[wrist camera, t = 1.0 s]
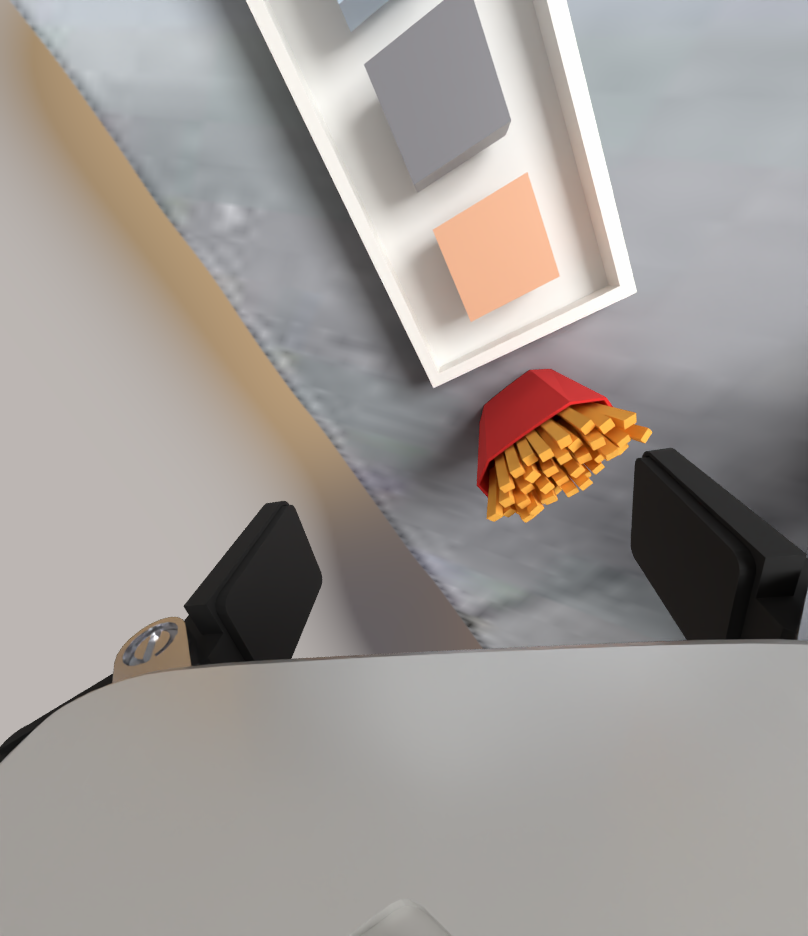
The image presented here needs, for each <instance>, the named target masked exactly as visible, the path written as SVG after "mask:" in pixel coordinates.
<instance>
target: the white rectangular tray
mask: <svg viewBox="0 0 808 936" xmlns="http://www.w3.org/2000/svg"><path fill="white" fill-rule="evenodd" d="M442 1H443V0H388V1H387V2H386V3H385V4H384V5H382V6H381V7H380V8H379V9H378V10H377V11H375V12H374V13H373V14H372V15H371V16H369V17H368V18H367V19H366V20H365V21H364V22H362V23H361V24H360V25H359V26H358V27H356V28H355V29H354V30H353V31H352V32H351V31H350V29H349V27H348V24H347V22H346V20H345V17H344V15H343V13H342V10H341V8H340V6H339V3H338V1H337V0H246V2H247V4H248V6H249V8H250V10H251V12H252V14H253V16H254V18H255V20H256V22H257V25H258V27H259V29H260V31H261V33H262V35H263V37H264V39H265V41H266V43H267V45H268V47H269V49H270V51H271V53H272V56H273V58H274V60H275V62H276V64H277V66H278V68H279V70H280V72H281V74H282V76H283V78H284V80H285V82H286V84H287V86H288V89H289V91H290V93H291V95H292V97H293V99H294V101H295V103H296V105H297V107H298V109H299V111H300V113H301V115H302V117H303V120H304V122H305V124H306V126H307V128H308V130H309V132H310V134H311V136H312V138H313V140H314V142H315V144H316V146H317V148H318V150H319V153H320V155H321V157H322V159H323V161H324V163H325V165H326V167H327V169H328V171H329V173H330V175H331V177H332V179H333V181H334V184H335V186H336V188H337V190H338V192H339V194H340V196H341V198H342V200H343V202H344V204H345V206H346V208H347V210H348V212H349V214H350V217H351V219H352V221H353V223H354V225H355V227H356V229H357V231H358V233H359V235H360V237H361V239H362V241H363V243H364V245H365V248H366V250H367V252H368V254H369V256H370V258H371V260H372V262H373V264H374V266H375V268H376V270H377V272H378V274H379V276H380V278H381V281H382V283H383V285H384V287H385V289H386V291H387V293H388V295H389V297H390V299H391V301H392V303H393V305H394V307H395V309H396V312H397V314H398V316H399V318H400V320H401V322H402V324H403V326H404V328H405V330H406V332H407V334H408V336H409V338H410V340H411V342H412V345H413V347H414V349H415V351H416V353H417V355H418V357H419V359H420V361H421V363H422V365H423V367H424V369H425V371H426V373H427V376H428V378H429V380H430V382H431V384H432V386H433V388H435V387H437V386H439V385H441V384H443V383H445V382H448V381H450V380H452V379H454V378H456V377H458V376H460V375H462V374H465V373H467V372H469V371H471V370H473V369H475V368H477V367H479V366H481V365H484V364H486V363H488V362H490V361H492V360H494V359H496V358H498V357H501V356H503V355H505V354H507V353H509V352H511V351H513V350H515V349H518V348H520V347H522V346H524V345H526V344H528V343H530V342H532V341H535V340H537V339H539V338H541V337H543V336H545V335H547V334H549V333H552V332H554V331H556V330H558V329H560V328H562V327H564V326H566V325H569V324H571V323H573V322H575V321H577V320H579V319H581V318H583V317H586V316H588V315H590V314H592V313H594V312H596V311H598V310H600V309H602V308H605V307H607V306H609V305H611V304H613V303H615V302H617V301H619V300H622V299H624V298H626V297H628V296H630V295H632V294H634V293H636V292H637V291H636V286H635V282H634V278H633V274H632V270H631V266H630V262H629V258H628V253H627V249H626V245H625V241H624V237H623V233H622V229H621V224H620V220H619V216H618V212H617V208H616V204H615V200H614V196H613V191H612V187H611V183H610V179H609V175H608V171H607V167H606V163H605V158H604V154H603V150H602V146H601V142H600V138H599V134H598V129H597V125H596V121H595V117H594V113H593V109H592V105H591V101H590V96H589V92H588V88H587V84H586V80H585V76H584V72H583V68H582V63H581V59H580V55H579V51H578V47H577V43H576V39H575V34H574V30H573V26H572V22H571V18H570V14H569V10H568V6H567V1H566V0H474V2H475V5H476V9H477V12H478V15H479V18H480V21H481V25H482V28H483V31H484V34H485V37H486V41H487V44H488V47H489V50H490V54H491V57H492V60H493V63H494V66H495V70H496V73H497V76H498V79H499V82H500V86H501V89H502V92H503V95H504V98H505V102H506V105H507V108H508V111H509V114H510V118H511V123H510V125H509V128H508V131H507V133H506V135H505V136H504V137H502V138H501V139H499V140H498V141H496V142H495V143H493V144H492V145H490V146H489V147H487V148H485V149H484V150H482V151H481V152H479V153H478V154H476V155H475V156H473V157H472V158H470V159H469V160H467V161H466V162H464V163H462V164H461V165H459V166H458V167H456V168H455V169H453V170H452V171H450V172H449V173H447V174H446V175H444V176H442V177H441V178H439V179H438V180H436V181H435V182H433V183H432V184H430V185H429V186H427V187H426V188H424V189H423V190H421V191H419V192H418V193H417V191H416V189H415V186H414V184H413V182H412V179H411V177H410V174H409V172H408V170H407V167H406V165H405V162H404V160H403V158H402V155H401V153H400V150H399V148H398V146H397V143H396V141H395V138H394V136H393V133H392V131H391V129H390V126H389V124H388V121H387V119H386V117H385V114H384V112H383V109H382V107H381V105H380V102H379V100H378V97H377V95H376V93H375V90H374V88H373V85H372V83H371V81H370V78H369V76H368V73H367V71H366V68H365V66H364V64H365V63H366V62H367V61H369V60H370V59H371V58H372V57H374V56H375V55H376V54H377V53H379V52H380V51H381V50H382V49H384V48H385V47H386V46H387V45H389V44H390V43H391V42H392V41H394V40H395V39H396V38H397V37H399V36H400V35H401V34H402V33H403V32H405V31H406V30H407V29H408V28H410V27H411V26H412V25H413V24H415V23H416V22H417V21H418V20H420V19H421V18H422V17H423V16H425V15H426V14H427V13H428V12H430V11H431V10H432V9H433V8H435V7H436V6H437V5H438V4H440V3H441V2H442ZM527 172H528V175H529V179H530V182H531V185H532V188H533V191H534V195H535V198H536V201H537V204H538V207H539V211H540V214H541V217H542V220H543V223H544V227H545V230H546V233H547V236H548V239H549V243H550V246H551V249H552V252H553V256H554V259H555V262H556V265H557V268H558V272H559V275H560V277H558V278H556V279H554V280H552V281H550V282H548V283H546V284H544V285H542V286H540V287H538V288H536V289H534V290H532V291H530V292H528V293H526V294H524V295H523V296H521V297H519V298H517V299H515V300H513V301H511V302H509V303H507V304H505V305H503V306H501V307H499V308H497V309H495V310H493V311H491V312H489V313H487V314H485V315H483V316H482V317H480V318H478V319H476V320H474V321H472V322H471V321H470V319H469V317H468V314H467V312H466V309H465V307H464V304H463V302H462V300H461V297H460V295H459V292H458V290H457V288H456V285H455V283H454V280H453V278H452V276H451V273H450V271H449V268H448V266H447V264H446V261H445V259H444V256H443V254H442V251H441V249H440V247H439V244H438V242H437V239H436V237H435V235H434V232H433V229H435V228H436V227H438V226H440V225H441V224H443V223H445V222H446V221H448V220H450V219H451V218H453V217H454V216H456V215H458V214H459V213H461V212H463V211H464V210H466V209H468V208H469V207H471V206H472V205H474V204H476V203H477V202H479V201H481V200H482V199H484V198H486V197H487V196H489V195H490V194H492V193H494V192H495V191H497V190H499V189H500V188H502V187H504V186H505V185H507V184H509V183H510V182H512V181H513V180H515V179H517V178H518V177H520V176H522V175H523V174H525V173H527Z"/></svg>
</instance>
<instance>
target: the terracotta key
mask: <svg viewBox="0 0 808 936" xmlns="http://www.w3.org/2000/svg"><path fill="white" fill-rule="evenodd" d="M433 232H434V235H435V237H436V239H437V242H438V244H439V247H440V249H441V251H442V254H443V256H444V259H445V261H446V264H447V266H448V268H449V271H450V273H451V276H452V278H453V280H454V283H455V285H456V288H457V290H458V292H459V295H460V297H461V300H462V302H463V304H464V307H465V309H466V312H467V314H468V317H469V319H470V321H471V322H472V321H474V320H476V319H478V318H480V317H482V316H483V315H485V314H487V313H489V312H491V311H493V310H495V309H497V308H499V307H501V306H503V305H505V304H507V303H509V302H511V301H513V300H515V299H517V298H519V297H521V296H523V295H524V294H526V293H528V292H530V291H532V290H534V289H536V288H538V287H540V286H542V285H544V284H546V283H548V282H550V281H552V280H554V279H556V278H558V277H560V275H559V272H558V268H557V265H556V262H555V259H554V256H553V252H552V249H551V246H550V243H549V239H548V236H547V233H546V230H545V227H544V223H543V220H542V217H541V214H540V211H539V207H538V204H537V201H536V198H535V195H534V191H533V188H532V185H531V182H530V179H529V175H528V172H527V173H525V174H523V175H522V176H520V177H518V178H517V179H515V180H513V181H512V182H510V183H509V184H507V185H505V186H504V187H502V188H500V189H499V190H497V191H495V192H494V193H492V194H490V195H489V196H487V197H486V198H484V199H482V200H481V201H479V202H477V203H476V204H474V205H472V206H471V207H469V208H468V209H466V210H464V211H463V212H461V213H459V214H458V215H456V216H454V217H453V218H451V219H450V220H448V221H446V222H445V223H443V224H441V225H440V226H438V227H436V228H435V229H433Z"/></svg>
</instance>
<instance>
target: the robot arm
mask: <svg viewBox="0 0 808 936" xmlns="http://www.w3.org/2000/svg"><path fill="white" fill-rule="evenodd" d="M631 550H632V553H633V556H634V558H635V560H636V561H637V563H638V564H639V566H640V568H641V569H642V571H643V572H644V574H645V575H646V577H647V578H648V580H649V582H650V583H651V585H652V586H653V588H654V589H655V591H656V593H657V594H658V596H659V597H660V599H661V600H662V602H663V603H664V605H665V607H666V608H667V610H668V611H669V613H670V614H671V616H672V618H673V619H674V621H675V622H676V624H677V625H678V627H679V628H680V630H681V632H682V633H683V635H684V636H685V638H686V639H687V640H683V641H660V642H628V643H605V644H582V645H559V646H537V647H514V648H492V649H473V650H453V651H431V652H411V653H391V654H371V655H353V656H335V657H317V658H299V659H291V658H292V656H293V653H294V651H295V648H296V646H297V644H298V641H299V639H300V636H301V634H302V631H303V629H304V626H305V624H306V622H307V619H308V617H309V614H310V612H311V609H312V607H313V604H314V602H315V600H316V597H317V595H318V593H319V590H320V588H321V585H322V575H321V571H320V569H319V566H318V564H317V561H316V559H315V556H314V554H313V551H312V549H311V546H310V544H309V541H308V539H307V536H306V534H305V531H304V529H303V527H302V524H301V522H300V519H299V517H298V514H297V512H296V509H295V508H294V506H293V505H289V504H288V503H287V502H286V501H280V502H273V503H266V504H265V505H264V506H263V507H262V509H261V510H260V511H259V512H258V514H257V515H256V516H255V517H254V518H253V520H252V521H251V522H250V523H249V525H248V526H247V527H246V528H245V530H244V531H243V532H242V534H241V535H240V536H239V537H238V539H237V540H236V541H235V542H234V544H233V545H232V546H231V547H230V549H229V550H228V551H227V552H226V554H225V555H224V556H223V557H222V559H221V560H220V561H219V562H218V564H217V565H216V566H215V568H214V569H213V570H212V571H211V572H210V574H209V575H208V576H207V578H206V579H205V580H204V581H203V583H202V584H201V585H200V586H199V587H198V589H197V590H196V591H195V593H194V594H193V595H192V596H191V597H190V599H189V600H188V601H187V603H186V604H185V605H184V608H185V609H186V611H187V612H188V614H189V616H188V617H187V618H186V619H185V621H184V620H183V619H181V618H178V617H168V618H164V619H160V620H158V621H156V622H154V623H151V624H149V625H148V626H146V627H145V628H143V629H141V630H140V631H139V632H138V633H136V634H135V635H134V636H132V637H131V638H130V639H129V640H128V641H127V642H126V643H125V644H124V646H122V648H121V649H120V651H119V653H118V654H117V656H116V659H115V662H114V671H113V674H111V675H110V676H108V677H106V678H105V679H103V680H102V681H100V682H98V683H97V684H95V685H93V686H92V687H90V688H88V689H87V690H85V691H83V692H82V693H80V694H78V695H77V696H75V697H73V698H72V699H70V700H68V701H67V702H65V703H63V704H62V705H60V706H58V707H57V708H55V709H54V710H52V711H50V712H49V713H47V714H45V715H44V716H42V717H40V718H39V719H37V720H35V721H34V722H32V723H31V724H29V725H27V726H25V727H23V728H21V729H20V730H18V731H17V732H15V733H14V734H13V735H12V736H11V737H9V738H8V739H7V740H6V741H5V742H4V743H3V744H2V745H1V747H0V936H808V559H807V558H806V554H805V553H804V552H803V551H802V550H800V549H799V548H798V547H797V546H795V545H794V544H793V543H791V542H790V541H789V540H788V539H786V538H785V537H784V536H783V535H781V534H780V533H779V532H778V531H776V530H775V529H774V528H773V527H771V526H770V525H769V524H768V523H766V522H765V521H764V520H763V519H761V518H760V517H759V516H758V515H756V514H755V513H754V512H753V511H751V510H750V509H749V508H748V507H746V506H745V505H744V504H743V503H741V502H740V501H739V500H738V499H736V498H735V497H734V496H733V495H731V494H730V493H729V492H727V491H726V490H725V489H724V488H722V487H721V486H720V485H719V484H717V483H716V482H715V481H714V480H712V479H711V478H710V477H709V476H707V475H706V474H705V473H704V472H702V471H701V470H700V469H699V468H697V467H696V466H695V465H694V464H692V463H691V462H690V461H689V460H687V459H686V458H685V457H684V456H682V455H681V454H680V453H679V452H677V451H676V450H675V449H673V448H667V449H660V450H653V451H646V452H644V454H643V456H642V458H637V459H636V461H635V472H634V491H633V510H632V528H631Z"/></svg>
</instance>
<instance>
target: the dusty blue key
mask: <svg viewBox="0 0 808 936" xmlns="http://www.w3.org/2000/svg"><path fill="white" fill-rule="evenodd" d="M337 1H338V3H339V6H340V8H341V10H342V13H343V15H344V17H345V20H346V22H347V24H348V27H349V29H350V31H351V32H352V31H353V30H354V29H355V28H356V27H358V26H359V25H360V24H361V23H362V22H364V21H365V20H366V19H367V18H368V17H369V16H371V15H372V14H373V13H374V12H375V11H377V10H378V9H379V8H380V7H381V6H382V5H384V4H385V3H386V2H387V1H388V0H337Z"/></svg>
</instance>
